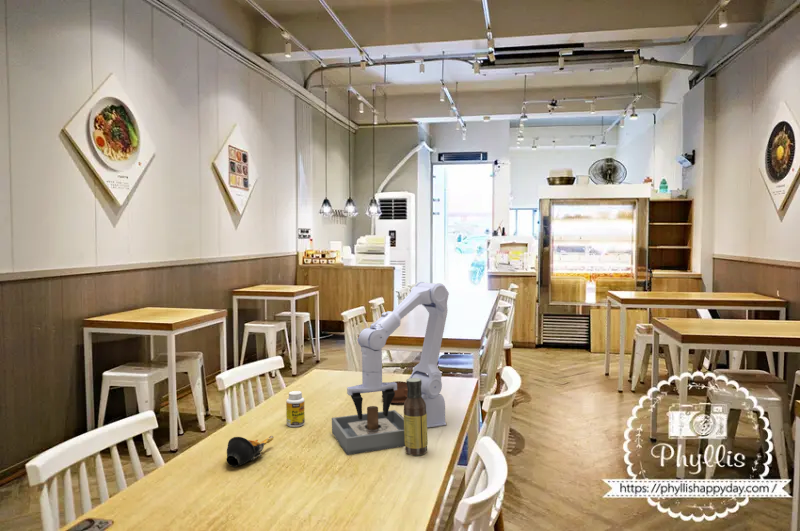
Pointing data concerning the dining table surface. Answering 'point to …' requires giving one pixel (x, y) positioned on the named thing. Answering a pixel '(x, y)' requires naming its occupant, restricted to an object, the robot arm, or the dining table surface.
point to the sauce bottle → (415, 419)
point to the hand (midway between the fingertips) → (372, 416)
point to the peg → (372, 417)
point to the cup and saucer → (400, 393)
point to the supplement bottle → (295, 409)
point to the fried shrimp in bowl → (244, 450)
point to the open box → (371, 440)
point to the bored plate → (361, 429)
